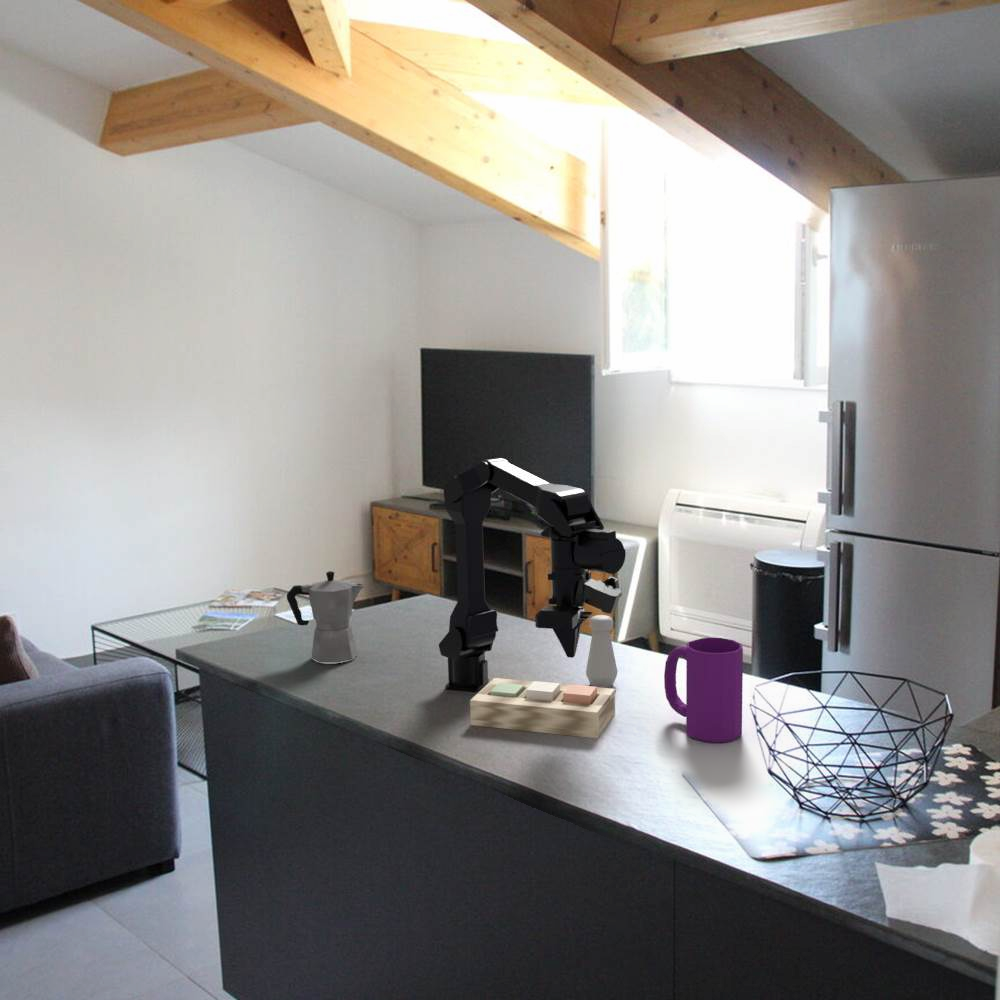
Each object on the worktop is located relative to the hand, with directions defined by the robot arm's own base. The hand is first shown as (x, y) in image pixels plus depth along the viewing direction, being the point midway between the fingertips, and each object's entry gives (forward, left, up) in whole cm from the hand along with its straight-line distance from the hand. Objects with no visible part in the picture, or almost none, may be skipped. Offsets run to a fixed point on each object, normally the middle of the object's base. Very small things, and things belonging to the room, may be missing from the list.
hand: (571, 656), depth 193 cm
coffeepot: (-57, +21, -12) cm, 62 cm away
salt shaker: (0, +20, -12) cm, 23 cm away
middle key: (-5, 0, -9) cm, 10 cm away
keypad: (-5, 0, -12) cm, 13 cm away
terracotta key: (+1, 0, -9) cm, 9 cm away
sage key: (-12, 0, -10) cm, 15 cm away
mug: (+21, +3, -12) cm, 24 cm away
